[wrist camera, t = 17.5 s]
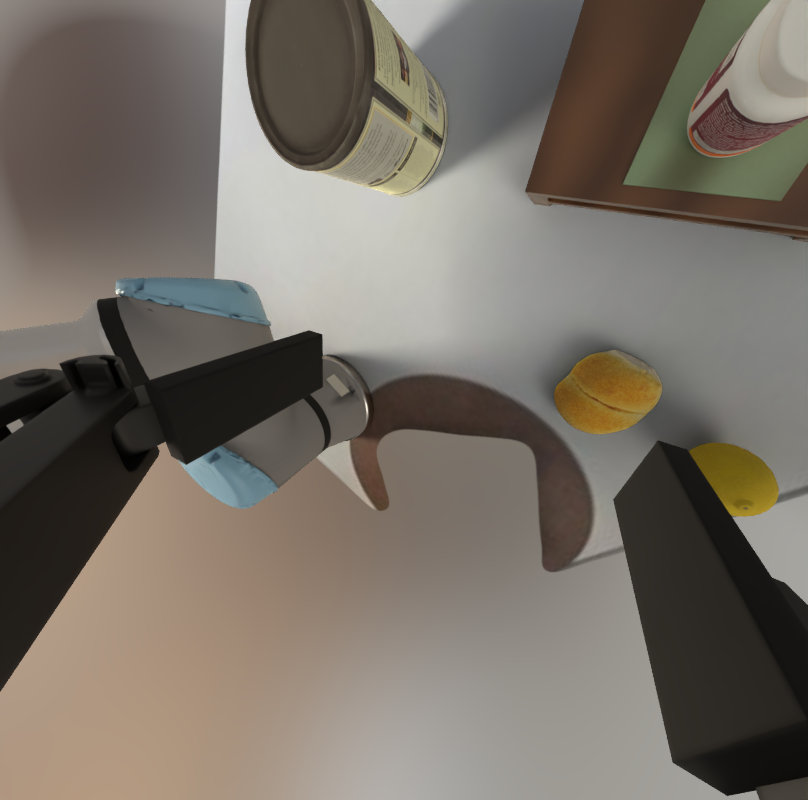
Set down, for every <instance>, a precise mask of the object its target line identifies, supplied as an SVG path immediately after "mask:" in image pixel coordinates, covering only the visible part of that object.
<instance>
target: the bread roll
mask: <svg viewBox="0 0 808 800" xmlns="http://www.w3.org/2000/svg"><path fill="white" fill-rule="evenodd" d="M661 393H662V383H661V381H660V379H659V377H658V375H657V373H656V371H655V370H654V369H653V368H651V367H650V366H648V365H647V364H645V363H644V362H642V361H641V360H639V359H637V358H635V357H633V356H631V355H629V354H625V353H624V352H622V351H620V350H610V351H606V352H599V353H595V354H592V355H589V356H587V357H585V358H584V359H582V360H581V361H579V362H578V363H577V364H576V365H575V366H574V368H573V369H572V371H571V372H570V374H569V375H568V376H567V377H566V378H564V379H563V380H562V381H561V382H560V383H559V384H558V385H557V387H556V388H555V392H554V399H555V404H556V407H557V410H558V412H559V413H560V414H561V416H562V417H563V418H564V419H565V421H566V422H568V423H569V424H570V425H571V426H573V427H574V428H576V429H578V430H581V431H584V432H587V433H592V434H607V433H613V432H617V431H621V430H624V429H627V428H629V427H631V426H633V425H634V424H636V423H637V422H639V421H640V420H641V419H642V418H643V417H644V416H645V415H646V414H647V413H648V412H649V411H651V410H652V409H653V408H654V407H655V405H656V404H657V402H658V400H659V398H660V396H661Z"/></svg>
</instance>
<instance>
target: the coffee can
mask: <svg viewBox="0 0 808 800" xmlns="http://www.w3.org/2000/svg"><path fill="white" fill-rule="evenodd" d="M245 50H246V68H247V77H248V85H249V90H250V95H251V99H252V103H253V107H254V110H255V113H256V116H257V119H258V122H259V124H260V126H261V129H262V131H263V133H264V135H265V136H266V138H267V140H268V141H269V143H270V145H271V146H272V147H273V149H274V150H275V151H276V152H277V154H278V155H279V156H280V157H281V158H282V159H283V160H285V161H286V162H287V163H289V164H290V165H292V166H294V167H296V168H299V169H302V170H307V171H316V172H319V173H323V174H326V175H329V176H333V177H336V178H339V179H342V180H346V181H349V182H352V183H356V184H358V185H362V186H366V187H369V188H372V189H375V190H379V191H382V192H384V193H387V194H389V195H393V196H405V195H408V194H411V193H413V192H415V191H417V190H418V189H420V188H421V187H422V186H423V185H424V184H425V183H426V182H427V181H428V180H429V179H430V177H431V176H432V175H433V173H434V172H435V170H436V168H437V166H438V164H439V162H440V160H441V157H442V155H443V151H444V148H445V144H446V139H447V130H448V116H447V108H446V102H445V99H444V95H443V92H442V90H441V88H440V86H439V84H438V82H437V81H436V79H435V77H434V76H433V75H432V74H431V73H430V72H429V71H427V69H426V68H425V67H424V65H423V64H422V63H421V62H420V61H419V59H418V58H417V57H416V56H415V54H414V53H413V52H412V51H411V49H410V48H409V47H408V46H407V44H406V43H405V42H404V41H403V39H402V38H401V37H400V36H399V34H398V33H397V32H396V31H395V29H394V28H393V27H392V25H391V24H390V23H389V22H388V20H387V19H386V18H385V17H384V15H383V14H382V13H381V11H380V10H379V9H378V8H377V7H376V6H375V4H374V3H373V2H372V1H371V0H251V3H250V7H249V13H248V19H247V28H246V47H245Z"/></svg>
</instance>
